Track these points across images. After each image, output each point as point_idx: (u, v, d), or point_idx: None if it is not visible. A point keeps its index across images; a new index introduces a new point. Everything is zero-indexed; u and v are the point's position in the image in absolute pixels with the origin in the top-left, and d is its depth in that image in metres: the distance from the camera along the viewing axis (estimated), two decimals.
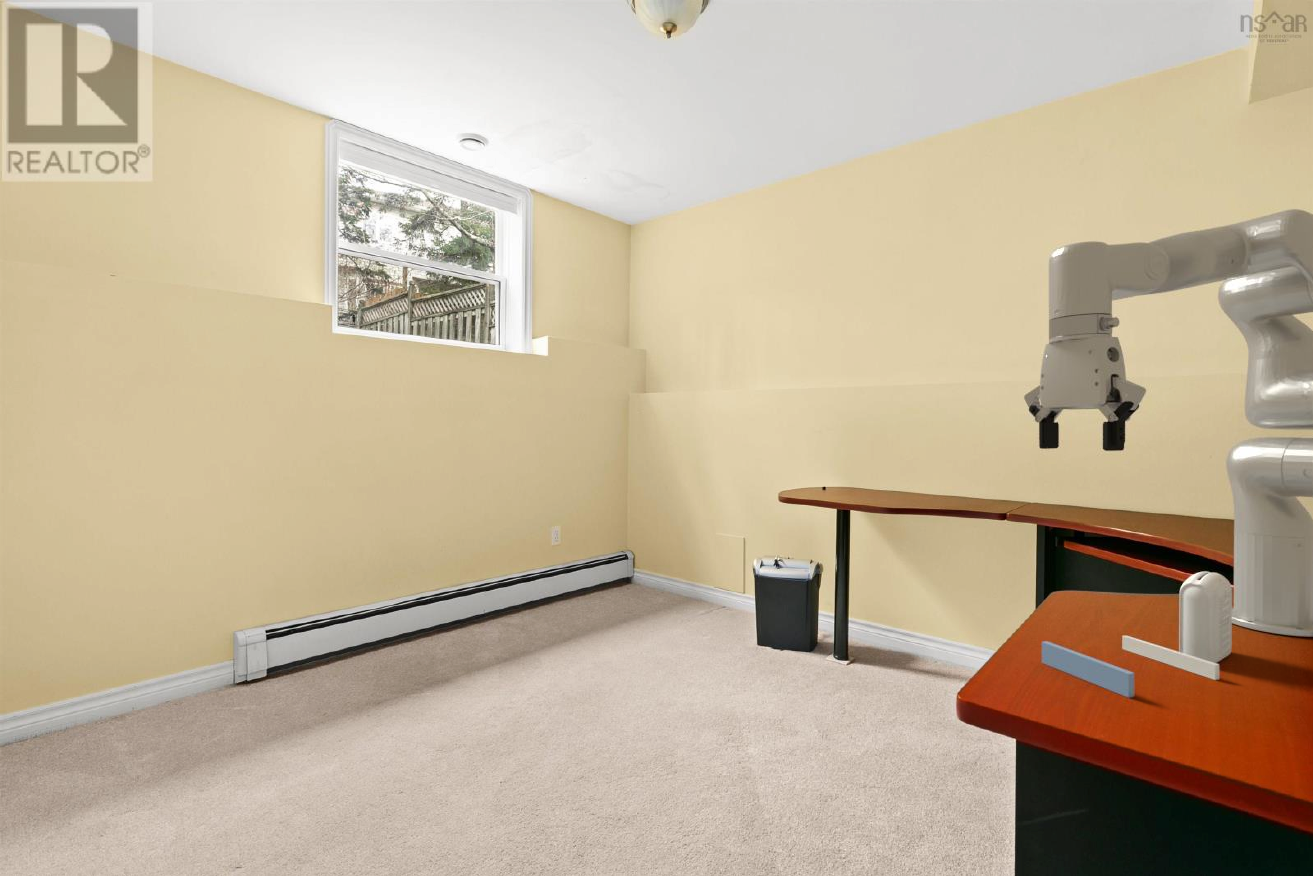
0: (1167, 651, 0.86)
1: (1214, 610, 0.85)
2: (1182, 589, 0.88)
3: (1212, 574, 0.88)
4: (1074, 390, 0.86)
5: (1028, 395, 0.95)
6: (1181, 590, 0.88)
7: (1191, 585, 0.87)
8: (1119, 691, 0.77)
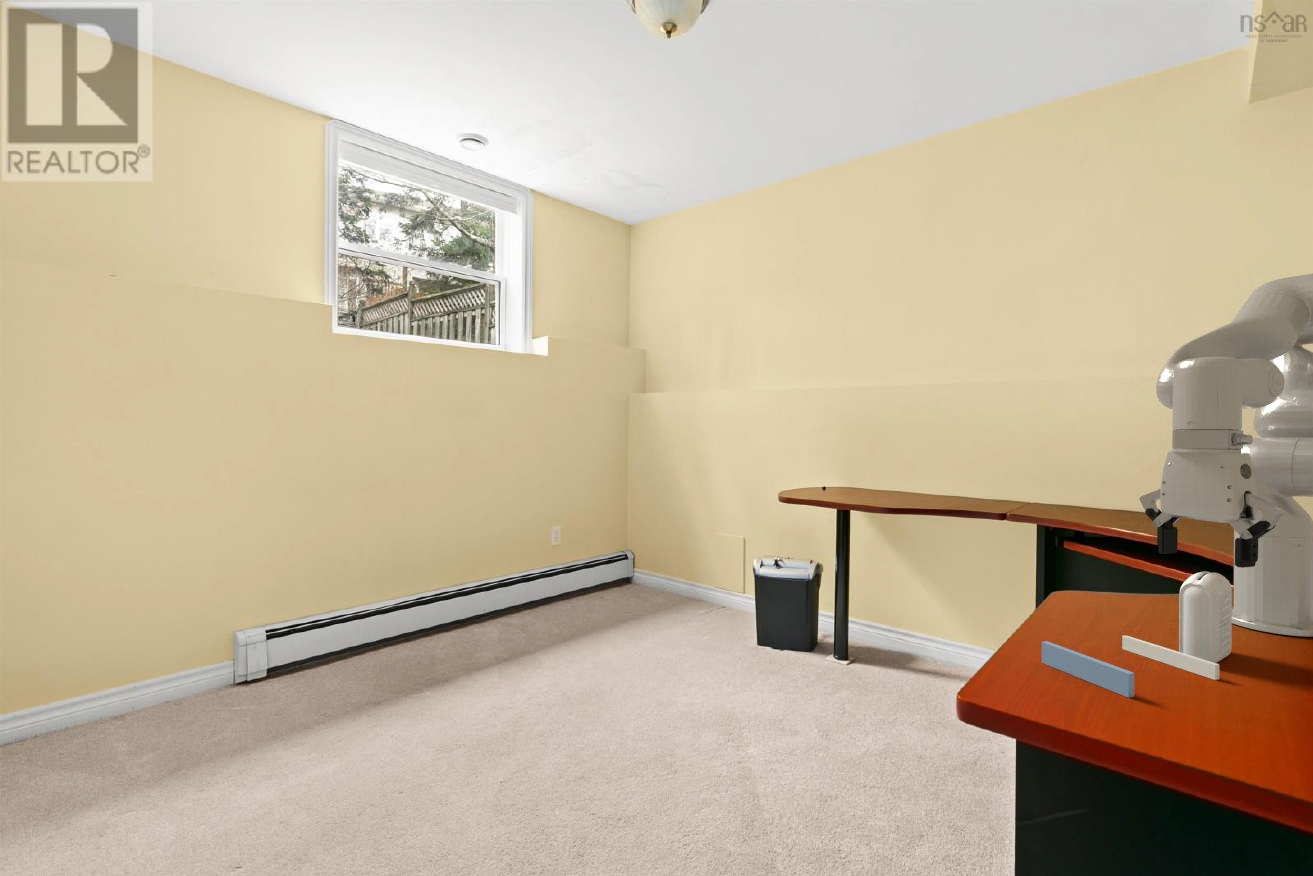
0: (1167, 651, 0.86)
1: (1214, 610, 0.85)
2: (1182, 589, 0.88)
3: (1212, 574, 0.88)
4: (1202, 502, 0.87)
5: (1144, 497, 0.96)
6: (1181, 590, 0.88)
7: (1191, 585, 0.87)
8: (1119, 691, 0.77)
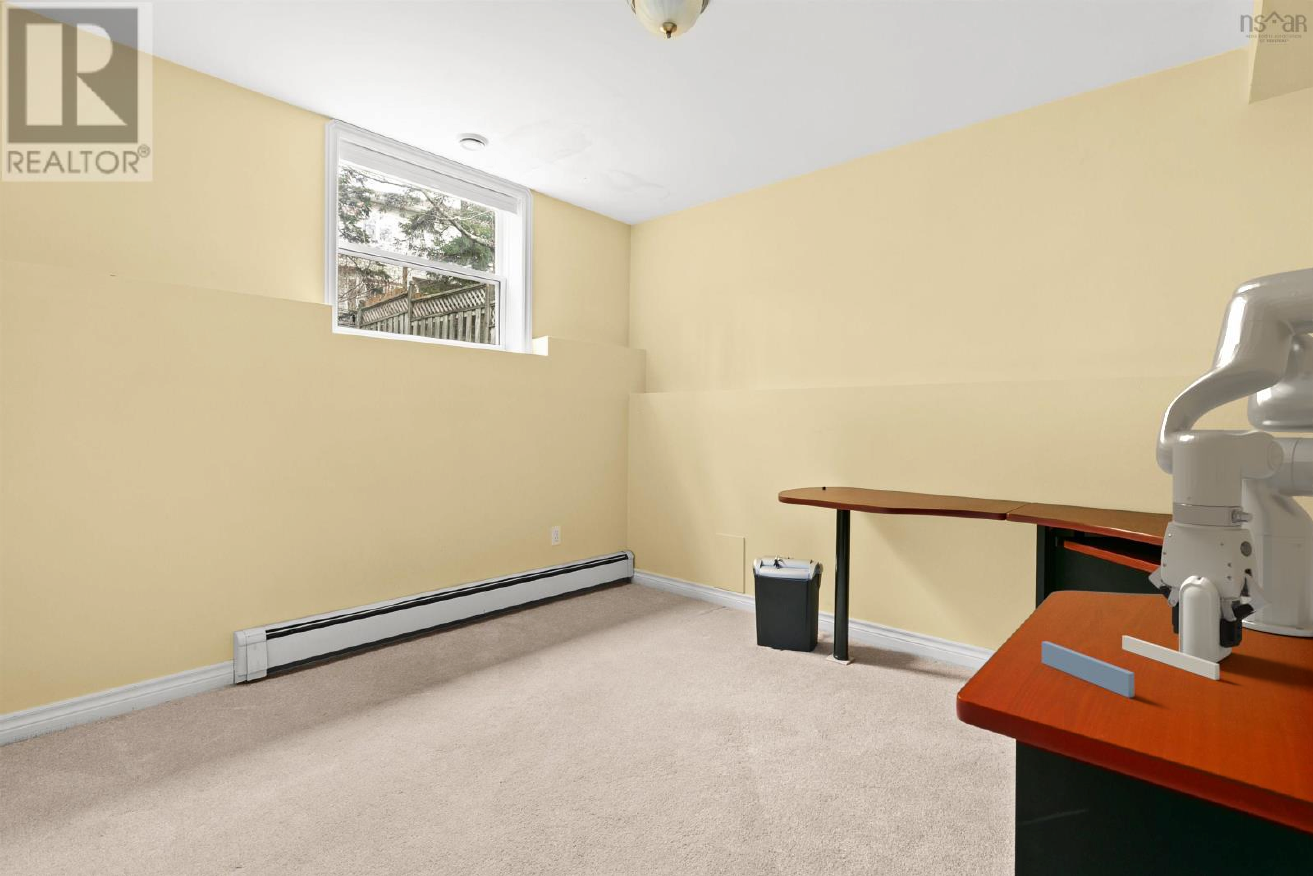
0: (1167, 651, 0.86)
1: (1214, 610, 0.85)
2: (1182, 589, 0.88)
3: None
4: (1202, 577, 0.87)
5: (1153, 576, 0.95)
6: (1181, 590, 0.88)
7: (1191, 585, 0.87)
8: (1119, 691, 0.77)
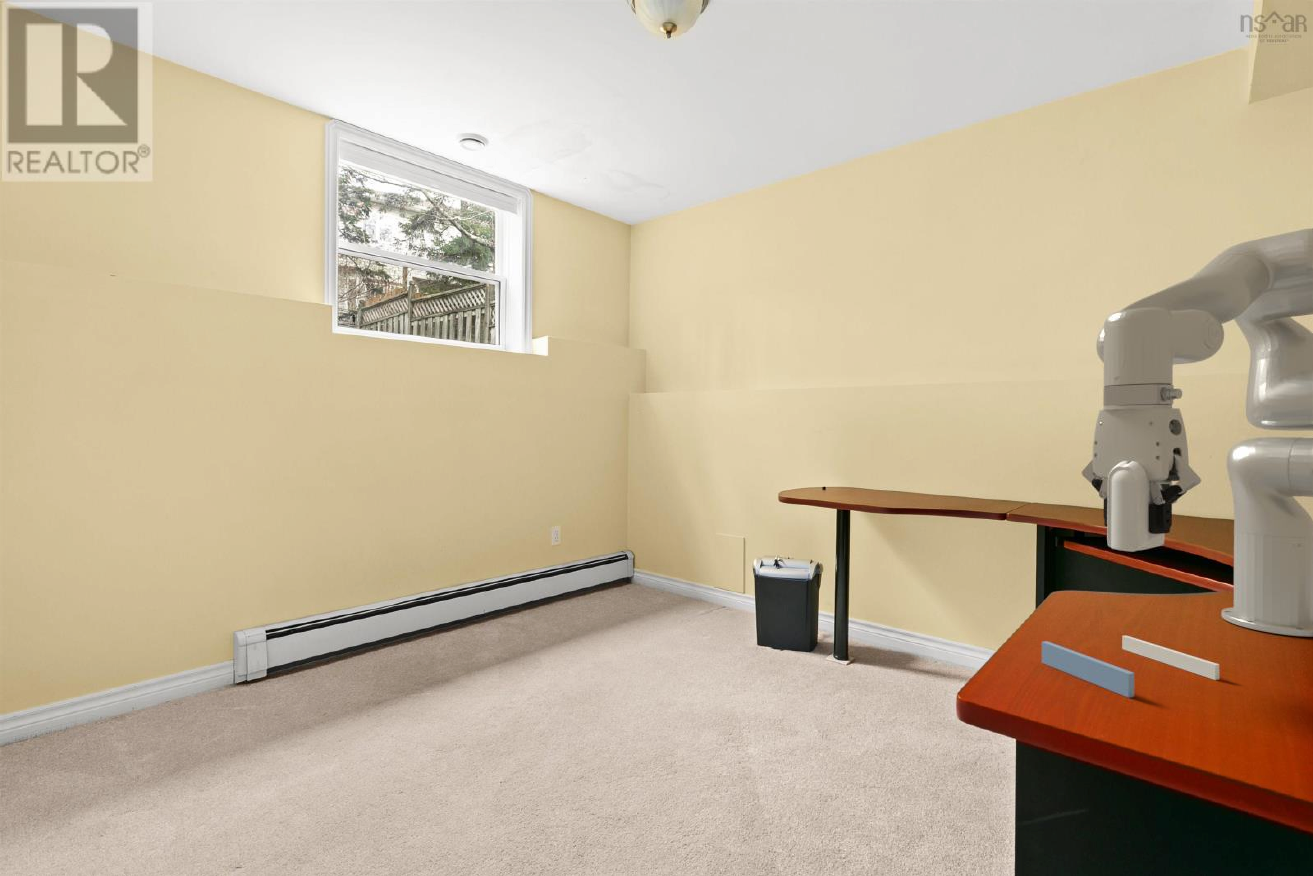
0: (1167, 651, 0.86)
1: (1142, 493, 0.81)
2: (1110, 474, 0.83)
3: None
4: None
5: (1085, 471, 0.91)
6: (1109, 475, 0.83)
7: (1119, 469, 0.82)
8: (1119, 691, 0.77)
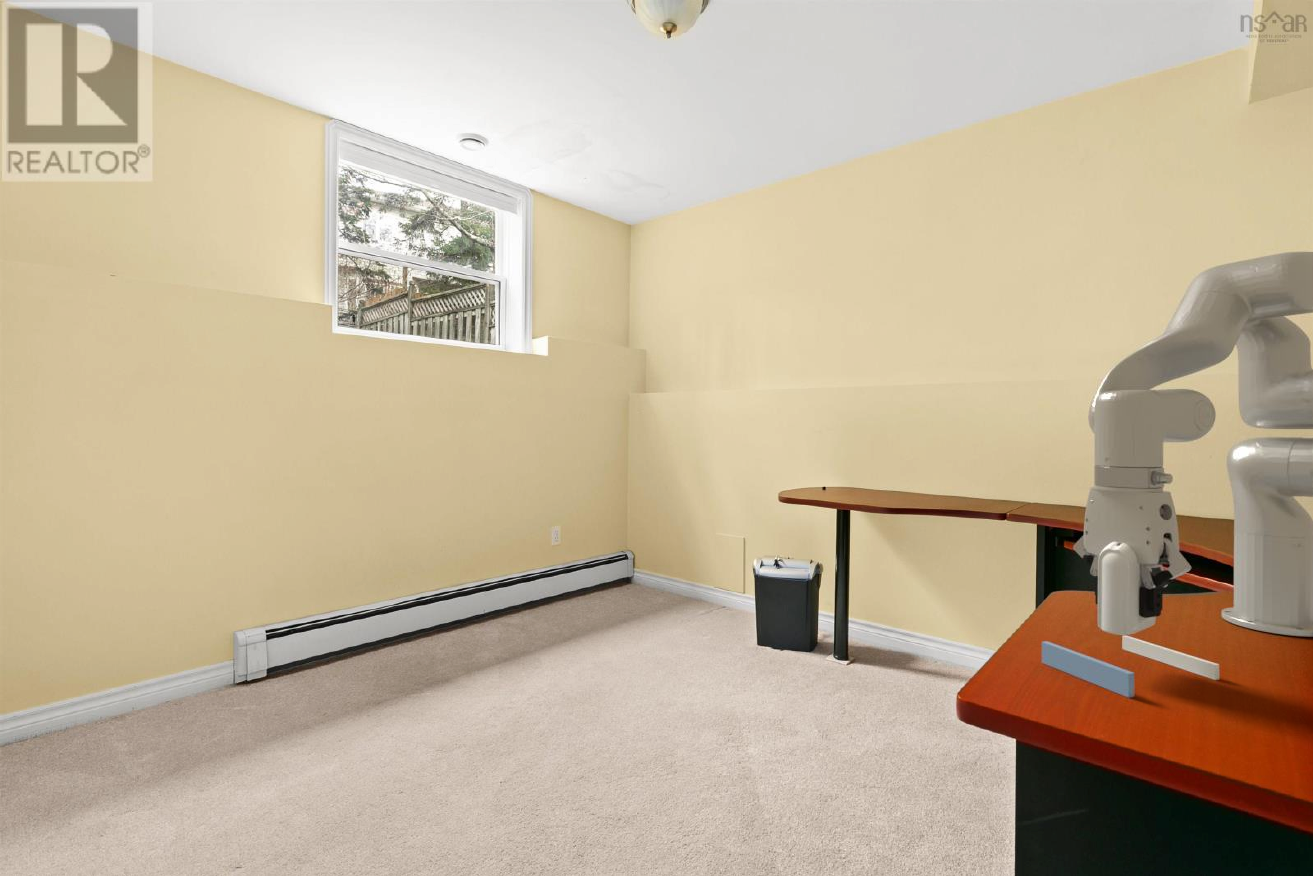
0: (1167, 651, 0.86)
1: (1132, 577, 0.80)
2: (1101, 555, 0.83)
3: None
4: None
5: (1077, 545, 0.90)
6: (1100, 556, 0.83)
7: (1109, 551, 0.82)
8: (1119, 691, 0.77)
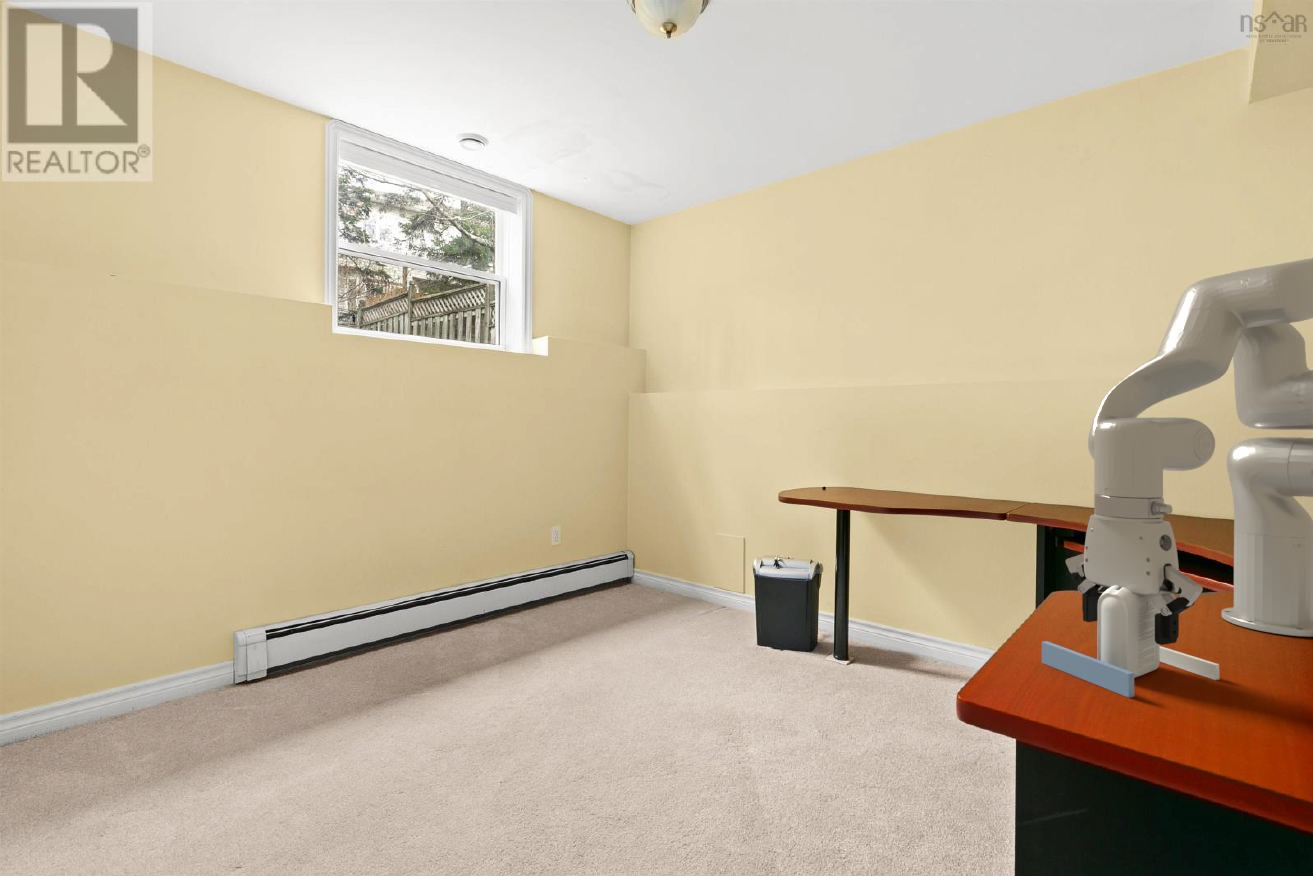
0: (1167, 651, 0.86)
1: (1131, 623, 0.81)
2: (1100, 599, 0.83)
3: None
4: (1123, 572, 0.83)
5: (1070, 560, 0.91)
6: (1099, 600, 0.83)
7: (1108, 595, 0.82)
8: (1119, 691, 0.77)
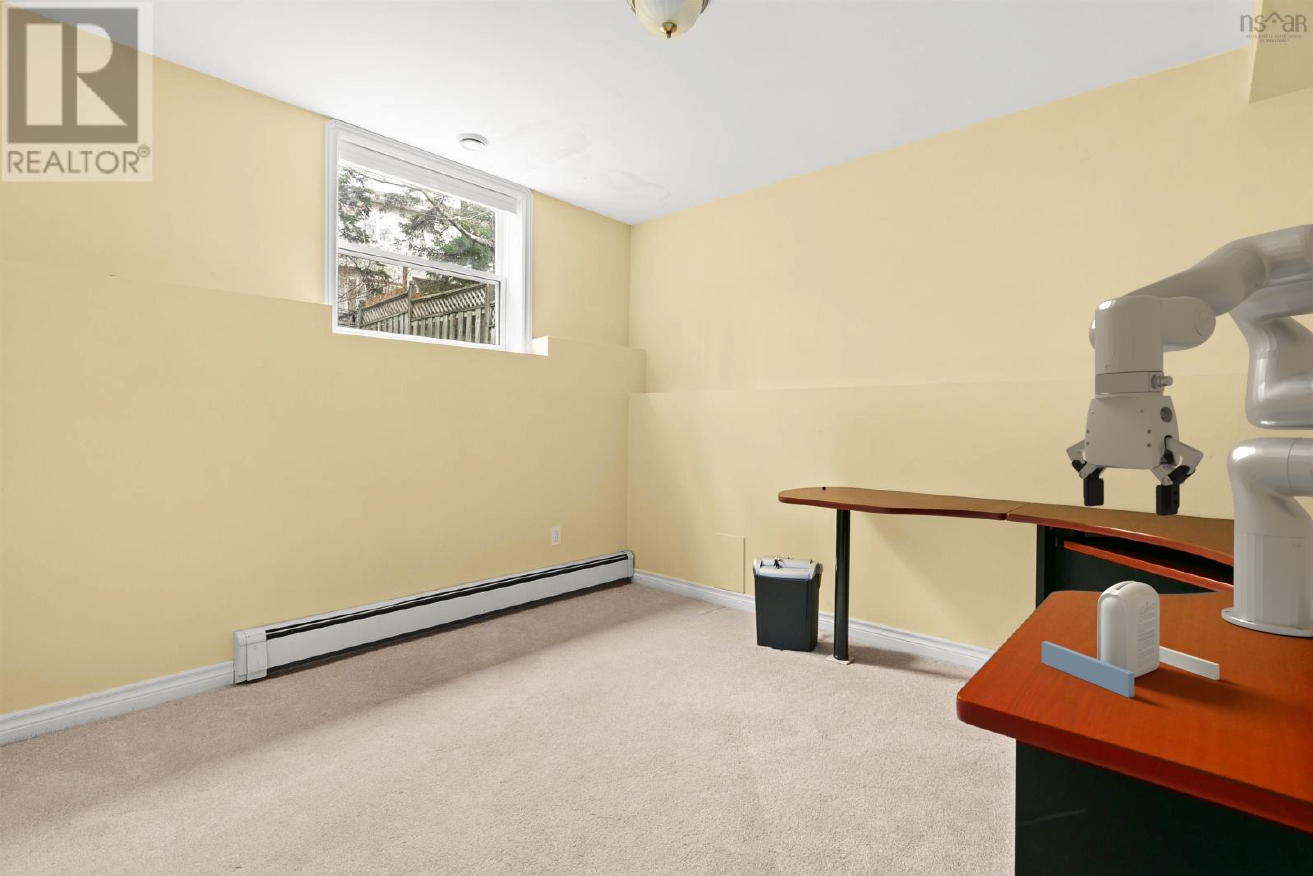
0: (1167, 651, 0.86)
1: (1131, 622, 0.81)
2: (1100, 599, 0.83)
3: (1134, 584, 0.83)
4: (1123, 449, 0.83)
5: (1071, 449, 0.92)
6: (1099, 600, 0.83)
7: (1108, 595, 0.82)
8: (1119, 691, 0.77)
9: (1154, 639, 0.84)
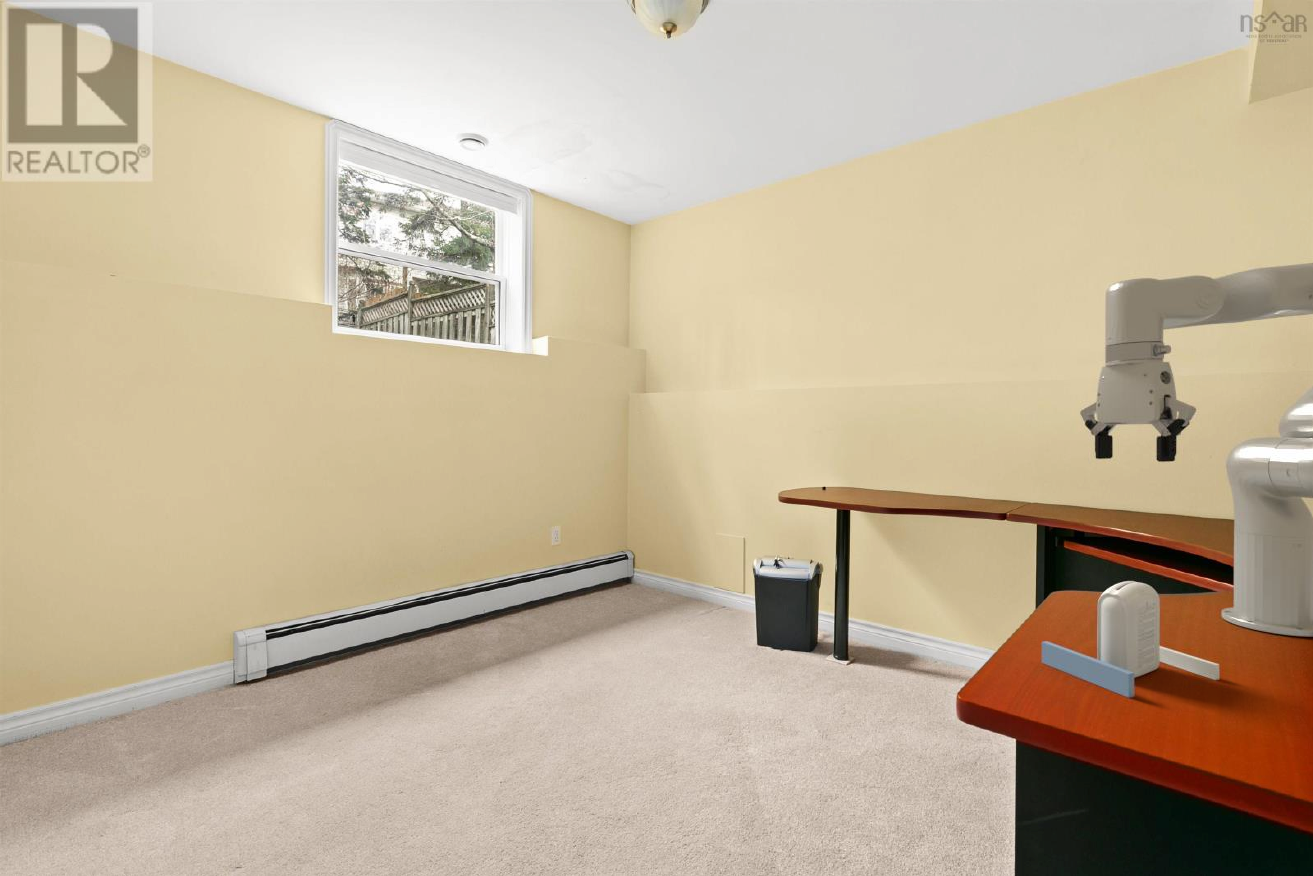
0: (1167, 651, 0.86)
1: (1131, 622, 0.81)
2: (1100, 599, 0.83)
3: (1134, 584, 0.83)
4: (1129, 408, 0.99)
5: (1084, 411, 1.07)
6: (1099, 600, 0.83)
7: (1108, 595, 0.82)
8: (1119, 691, 0.77)
9: (1154, 639, 0.84)
